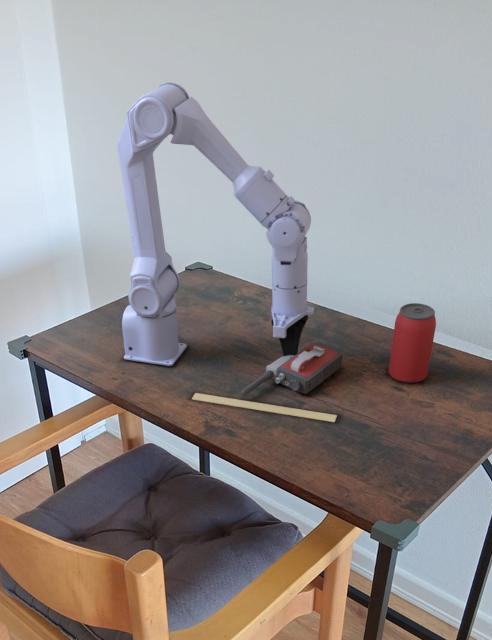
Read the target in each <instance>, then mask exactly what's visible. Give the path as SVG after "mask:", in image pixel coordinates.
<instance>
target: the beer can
mask: <svg viewBox="0 0 492 640" xmlns="http://www.w3.org/2000/svg"><path fill="white" fill-rule="evenodd" d="M435 314H436V311H435V309H434V308H432V306H430V305H427V304H423V303H417V302H413V303H412V302H411V303H406V304H404V305H402V306H401V307H400V309H399V311H398V313H397V315H396V318H395V321H394V328H393V334H392V335H393V336H392V341H391V349H390V356H389V357H390V358H389V365H388V373H389V375H390V377H391V378H393V380H396V381H398V382H401V383H404V384H416V383H420V382H422V381H423V380H425V379H426V378H427V376H428V374H429V369H430V368H429V367H430V362H431V356H432V351H433V345H434V339H435V333H436V327H437V319H436V316H435Z"/></svg>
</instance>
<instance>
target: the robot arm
mask: <svg viewBox="0 0 492 640" xmlns="http://www.w3.org/2000/svg"><path fill="white" fill-rule="evenodd" d="M170 135H172V137H171V139H170V144H173V145H184V146H193V147H195V148H196V149H197V150H198V151H199V152H200V153H201V154H202V155H203V156H204V157H205V158H206V159H207V160H208V161H209V162H210V163H211V164H212V165H213V166H215V167H216V168H217V169H218V171H220V172H221V173H222V174H223V175H224V176H225V177H226V178H227V179H228V180H230V182H231V183H232V185H233V187H232V188H233V196H234V198H235V199H236V200H237V201H238V202H239V203H240V204H241V205H242V206H243V207H244V208H245V209H246V210H247V212H249V214H250V215H251V216H253V217H254V218H255V219H256V221H257V222H258V223H259V224H260V225H261V226H262V227H264V228H265V229H266V230H267V231H266V232H265V234H266V239H267V241H268V243H269V244H270V246H271V301H272V304H271V307H270V311H271V318H272V320H271V327H272V338H277V339H278V340H279V343H280V347H281V351H282V355H283V356H289V355H293V356H295V355H296V354H297V353H298V352H299V347H300V341H301V337H302V333H303V331H304V327H305V325H306V324H307V321H308V320H309V316H312V315H313V314H314V312H315V307H314V306H311V305H308V260H309V259H308V257H309V256H308V255H309V253H308V237H307V236H306V235H307V234H308V232H309V230H310V226H311V223H312V218H311V217H312V216H311V213H310V211H309V209H308V208H307V206H306V204H305V203H304V202H302V201H299V200H296V199H295V198H294V197H293V196H292V195H290V196H289V195H288V194H287V193H286V192H285V191H284V190H283V189H282V188H281V187H280V186H279V185H278V184H277V183H276V181H275V180H274V179H273V178H274V177H275V175H274V173H273V172H272V171H271V169H267V170H266V171H265V170H264V168H263V167H262V166H260V165H259V166H256V165H249V164H248V163H247V162H246V161H245V160H244V158H243V157H242V155H240V153H238V151H237V149H235V147H233V145H232V144H231V143H230V141H228V139H227V138H226V136H225V135H223V133H222V132H221V131H220V129H219V128H218V127H217V126H216V125H215V123H214V122H213V121H212V120H211V119H210V117H209V116H208V115H207V113H206V112H205V111H204V109H203V107H202V105H201V104H200V102H199V101H198V100H197V99H195V98H194V97H193V96H190V95H189V92H188V91H187V90H186V89H185V88H184V87H183V86H182V85H181V84H180V83H177V82H173V81H167V82H164V83H161V84H160V85H158V86H157V87H156V88H155V89H154V90H152V91H150V92H149V93H145V94H144V95H142V96H140V97H139V98H138V99H137V100H136V101H135V102H134V103H133V104H132V105H131V106H130V107H129V108H128V109H127V111H126V119H125V121H124V125H123V128H122V130H121V133H120V135H119V139H118V140H117V155H118V161H119V167H120V168H119V169H120V175H121V180H122V187H123V193H124V200H125V206H126V211H127V218H128V226H129V231H130V238H131V245H132V252H133V257H134V258H133V263H132V266H131V270H130V274H129V280H130V287H129V290H128V293H127V296H128V297H127V298H128V303H129V304H128V305H127V306H126V308H125V309H124V312H123V314H122V319H121V325H122V326H121V329H122V339H123V346H124V347H123V348H124V355H123V359H124V360H125V361H134V362H140V363H145V364H146V363H147V364H153V365H160V366H166V367H173V366H174V364H175V363H176V362H177V360H178V359H179V358H180V357H181V355H182V354H183V353H184V351H185V350H186V349H187V348H188V345H187V344H186V343H183V342H179V328H178V312H177V311H178V310H177V301H176V299H175V294H176V293H177V292H178V291H179V288H180V283H181V282H180V276H179V274H178V272H177V271H176V269H175V267H174V264H173V258H172V256H171V255H170V253H168V252H167V251H166V245H165V244H166V243H165V237H164V229H163V222H162V214H161V205H160V200H159V199H160V197H159V192H158V191H159V190H158V184H157V176H156V168H155V160H154V152H155V151H156V150H157V149H158V148H159V146H160V145H161V144H162V143H163V142H164V140H165V139H166V138H168V136H170Z"/></svg>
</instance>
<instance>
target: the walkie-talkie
mask: <svg viewBox="0 0 492 640" xmlns="http://www.w3.org/2000/svg"><path fill="white" fill-rule="evenodd" d="M342 351H343V350H341V349H340V348H338V347H335V346H333V345H330V344H327V343H326V342H325V343H324V342H322V341H319V340H318V341H314V342H311V343H310V344H309V345H307V346H306V347H304V348H303V349H301V350H300V351H298V352H297V354H296V355H295V356H293V355H289V356H284V355H283V356H280V357H279V358H277V359H276V360H274V361H273V362H272V363H270V364H268V365H266V367H265V372H264V373H263V374H262V375H261V376H260V377H258V378H257V379H256V380H254V381H253V382H251V383H250V384H249V385H247V386H246V387H244V388H243V389H242V390H241V391H240V395H241V396H243V397H245V396H247V395H249V394H250V393H251V392H252V391H254V390H255V389H256V388H258V387H259V386H261V385H262V384H263V383H265V382H267V381H268V380H271V379H273V380H274V382H275V383H276V384H277V385H278V384H280V385H282V386H284V387H287V388H289V389H291V390H292V391H294V392H299V393H302V394H305V395H306V394H309V393H310V392H311V391H312V390H313V389H315V388H316V387H318V386H319V385H320V384H321V383H323V382H324V381H325V380H326V379H328V378H329V377H330V376H331V375H333V374H334V373H335V372H336V371H338V370H339V369H340V368H342V365H343V352H342Z"/></svg>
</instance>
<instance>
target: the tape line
mask: <svg viewBox="0 0 492 640" xmlns="http://www.w3.org/2000/svg"><path fill="white" fill-rule="evenodd" d="M192 400H193V401H199V402H205V403H212V404H218V405H224V406H231V407H237V408H242V409H249V410H256V411H260V412H261V411H262V412H267V413H272V414H273V413H274V414H279V415H287V416H292V417H298V418H305V419H311V420H317V421H324V422H329V423H335V422H336V420H337V417H338V415H337V414H331V413H324V412H319V411H314V410H313V411H312V410H306V409H299V408H294V407H287V406H280V405H274V404H269V403H263V402H256V401H249V400H243V399H236V398H230V397H225V396H218V395H211V394H207V393H206V394H205V393H199V392H195V393H194V394H193V396H192V397H191V401H192Z"/></svg>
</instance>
